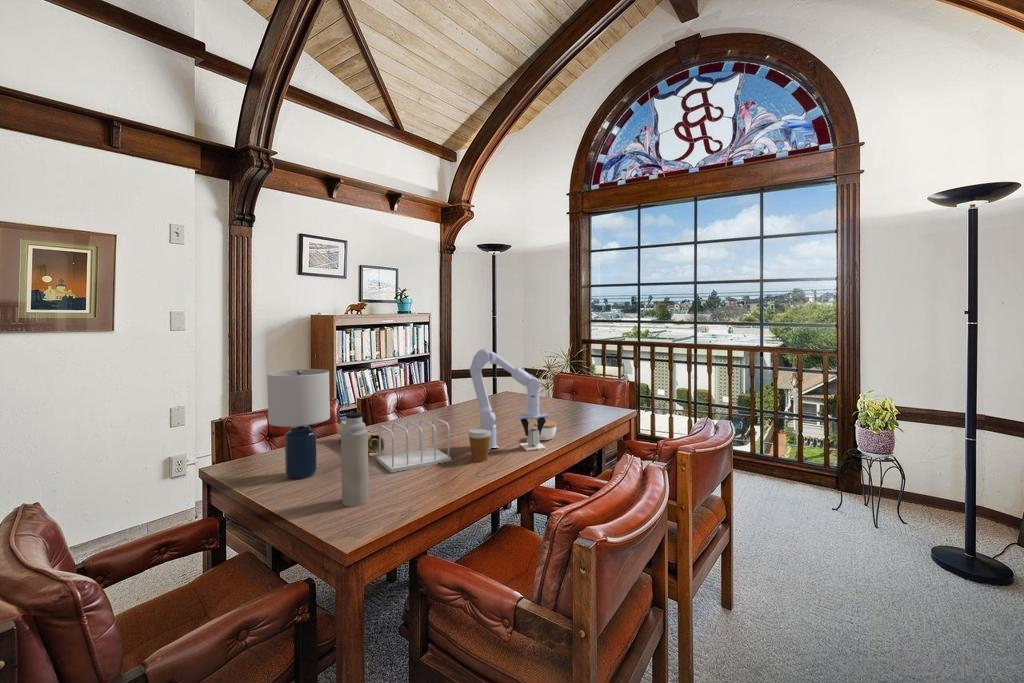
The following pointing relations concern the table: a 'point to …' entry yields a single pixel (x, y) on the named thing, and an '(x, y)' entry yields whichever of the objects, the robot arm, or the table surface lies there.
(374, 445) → the scroll
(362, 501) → the thermos bottle
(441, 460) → the file sorter
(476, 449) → the disposable coffee cup
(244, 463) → the table surface
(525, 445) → the white peg stand
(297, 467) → the lamp
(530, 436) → the collar
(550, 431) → the lidded jar
